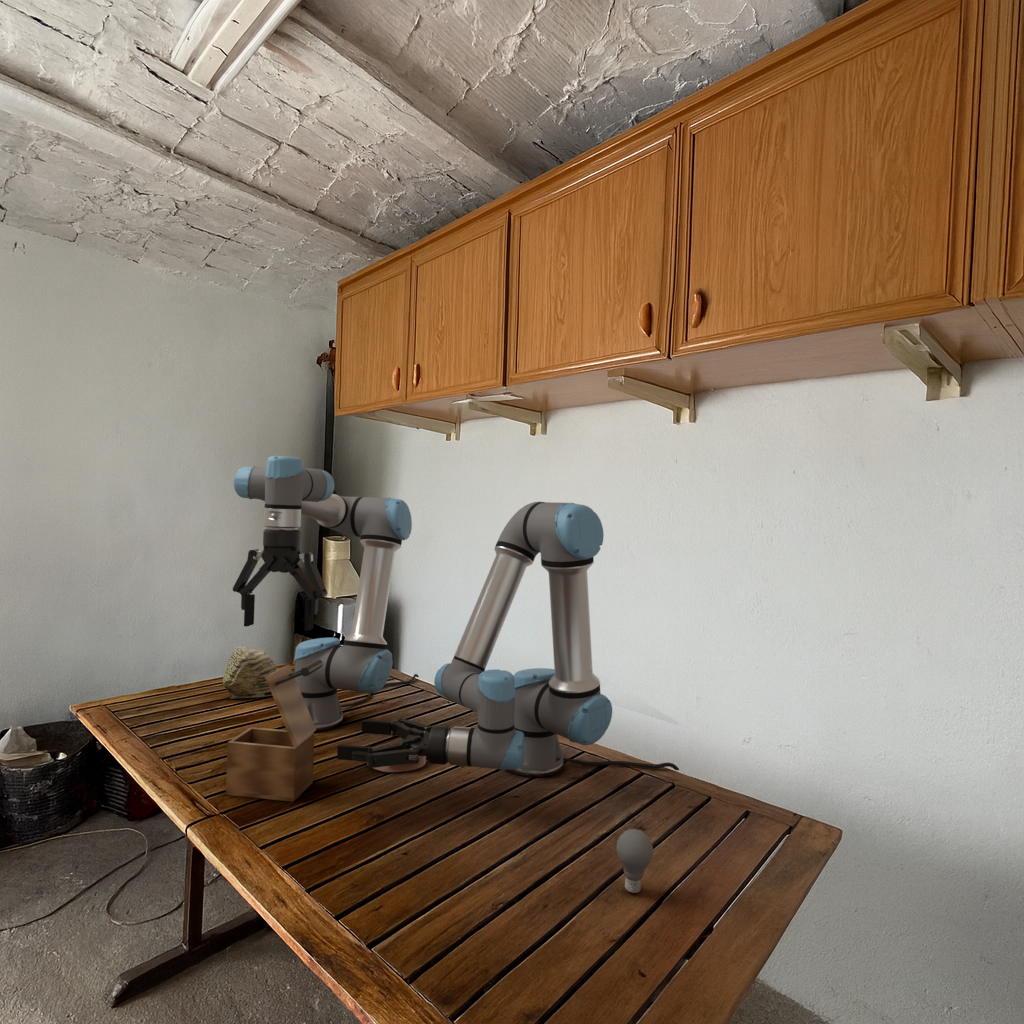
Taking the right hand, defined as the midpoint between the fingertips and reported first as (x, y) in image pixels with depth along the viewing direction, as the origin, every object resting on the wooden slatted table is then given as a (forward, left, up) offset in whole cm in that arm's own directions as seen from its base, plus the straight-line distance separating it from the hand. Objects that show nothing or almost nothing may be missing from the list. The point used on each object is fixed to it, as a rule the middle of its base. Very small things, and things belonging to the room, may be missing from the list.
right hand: (350, 738), depth 133 cm
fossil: (+24, -75, -13) cm, 80 cm away
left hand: (+15, -8, +22) cm, 28 cm away
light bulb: (-43, +44, -13) cm, 63 cm away
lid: (+12, -7, +6) cm, 15 cm away
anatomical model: (-12, -15, -13) cm, 23 cm away
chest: (+16, -8, -13) cm, 22 cm away
